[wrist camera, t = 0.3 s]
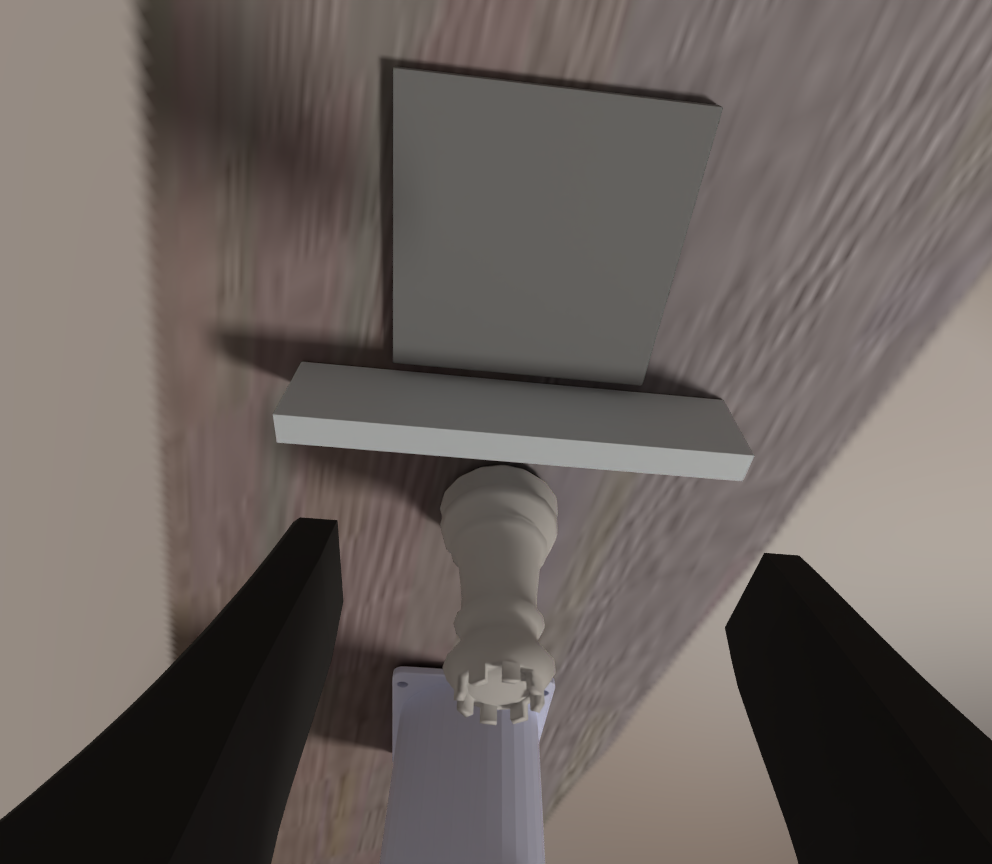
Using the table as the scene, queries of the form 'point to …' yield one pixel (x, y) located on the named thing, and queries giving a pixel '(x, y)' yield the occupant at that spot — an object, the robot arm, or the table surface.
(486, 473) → the rook chess piece
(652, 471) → the grey acrylic wall
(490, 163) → the charcoal pad
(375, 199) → the table surface
